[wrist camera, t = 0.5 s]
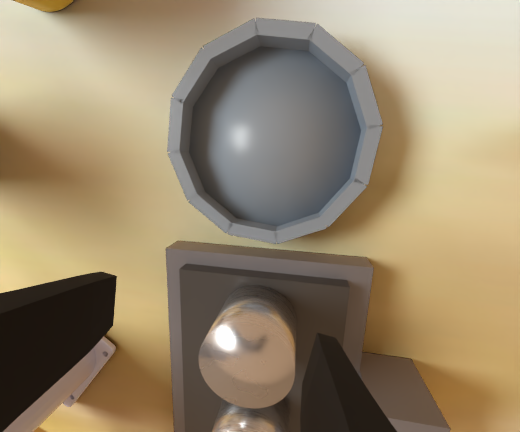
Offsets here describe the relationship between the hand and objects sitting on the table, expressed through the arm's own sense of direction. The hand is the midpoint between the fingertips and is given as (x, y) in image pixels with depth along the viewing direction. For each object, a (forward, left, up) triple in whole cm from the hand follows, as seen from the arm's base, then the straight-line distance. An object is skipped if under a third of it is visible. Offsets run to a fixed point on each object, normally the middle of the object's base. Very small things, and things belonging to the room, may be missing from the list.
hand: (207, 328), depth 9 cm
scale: (-8, -10, -10) cm, 16 cm away
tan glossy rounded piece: (-3, -3, -7) cm, 9 cm away
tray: (+6, +4, -10) cm, 12 cm away
